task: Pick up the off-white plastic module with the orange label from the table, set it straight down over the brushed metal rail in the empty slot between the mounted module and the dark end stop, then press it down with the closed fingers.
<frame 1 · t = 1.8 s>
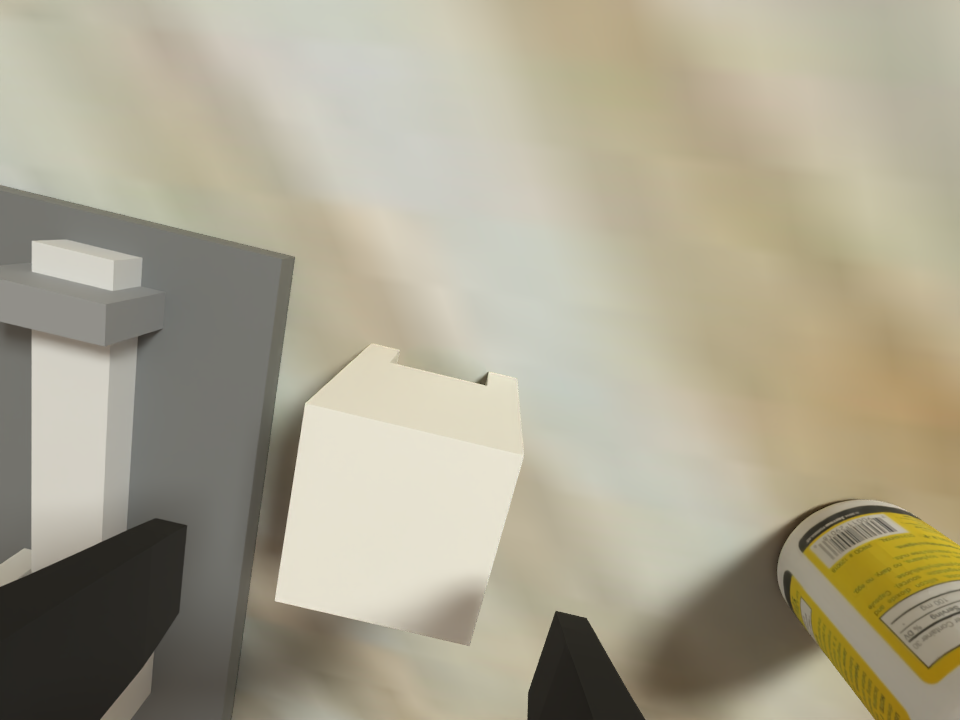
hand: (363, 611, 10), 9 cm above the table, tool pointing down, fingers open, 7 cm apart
supplement bottle: (845, 556, 19), on the table
rail: (114, 508, 19), on the table
module: (428, 433, 18), on the table
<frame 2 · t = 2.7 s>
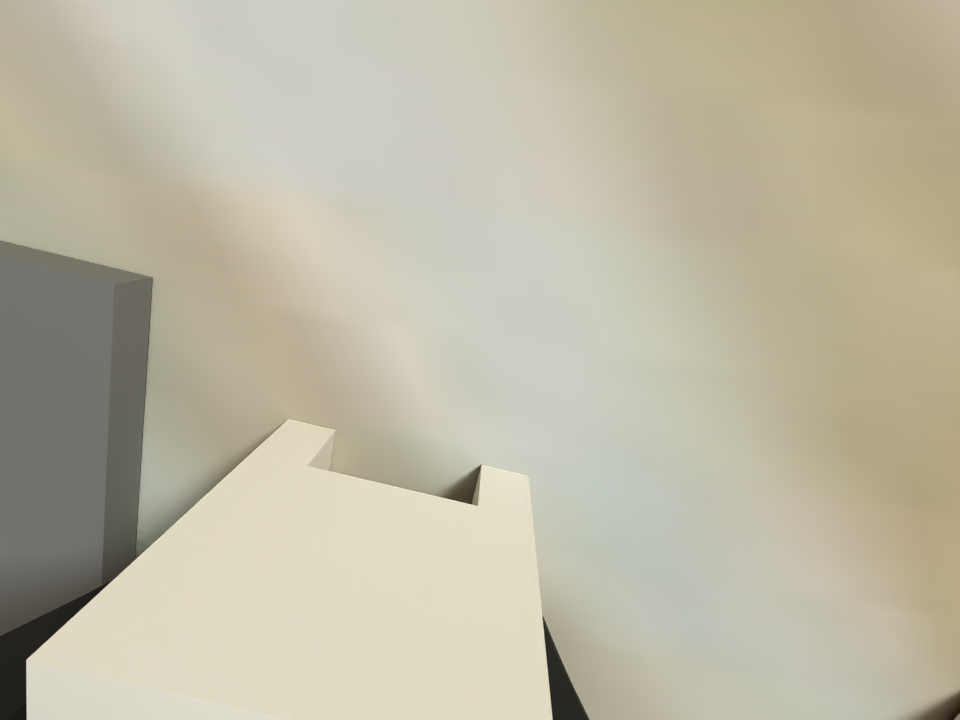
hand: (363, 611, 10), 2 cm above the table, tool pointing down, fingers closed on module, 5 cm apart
module: (384, 558, 11), on the table, touching gripper
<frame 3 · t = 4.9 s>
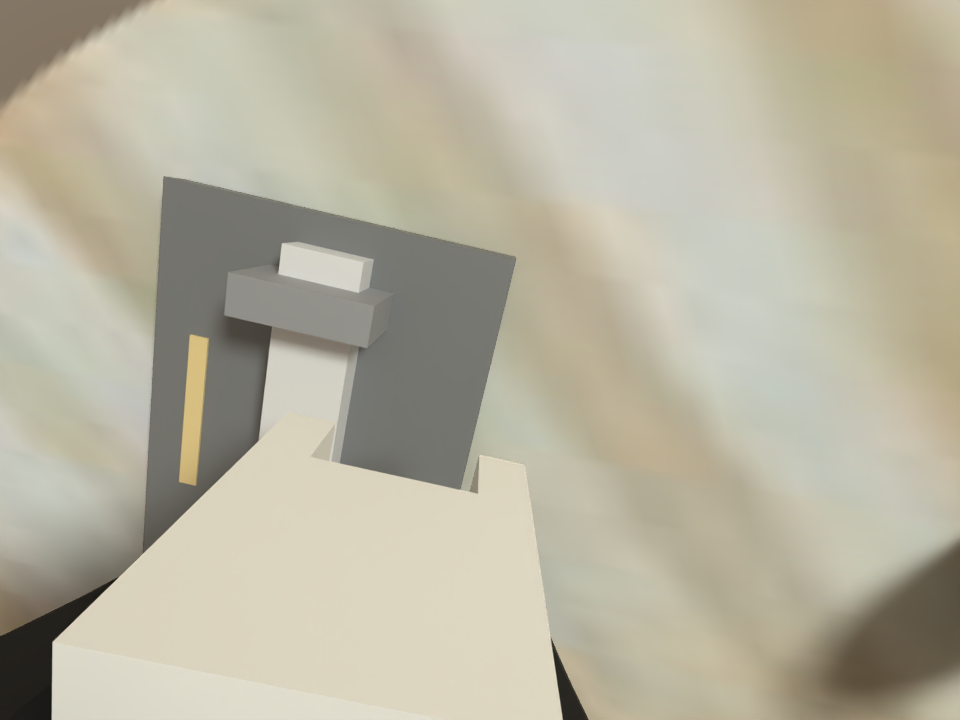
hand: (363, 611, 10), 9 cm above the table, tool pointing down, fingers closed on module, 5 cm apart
rail: (305, 510, 19), on the table
module: (384, 547, 12), point 7 cm above the table, touching gripper
when the fingers open (4 cm above the table, at t = 6.7 s): module drops 1 cm, resting on rail.
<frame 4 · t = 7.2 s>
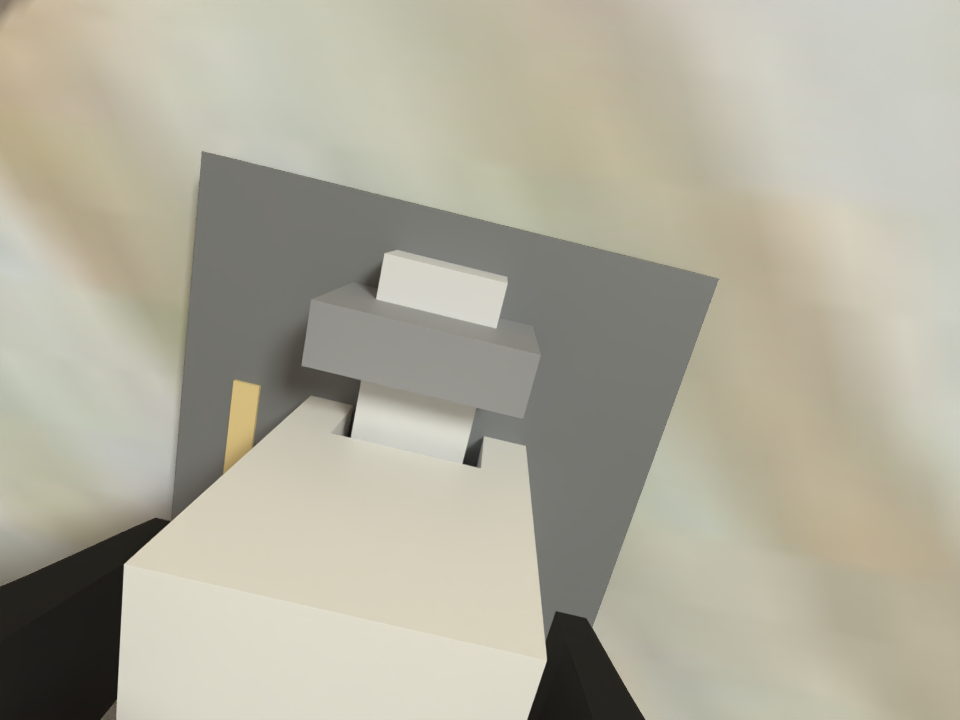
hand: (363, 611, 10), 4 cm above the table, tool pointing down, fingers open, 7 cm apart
rail: (379, 608, 14), on the table
module: (396, 522, 13), point 1 cm above the table, touching rail
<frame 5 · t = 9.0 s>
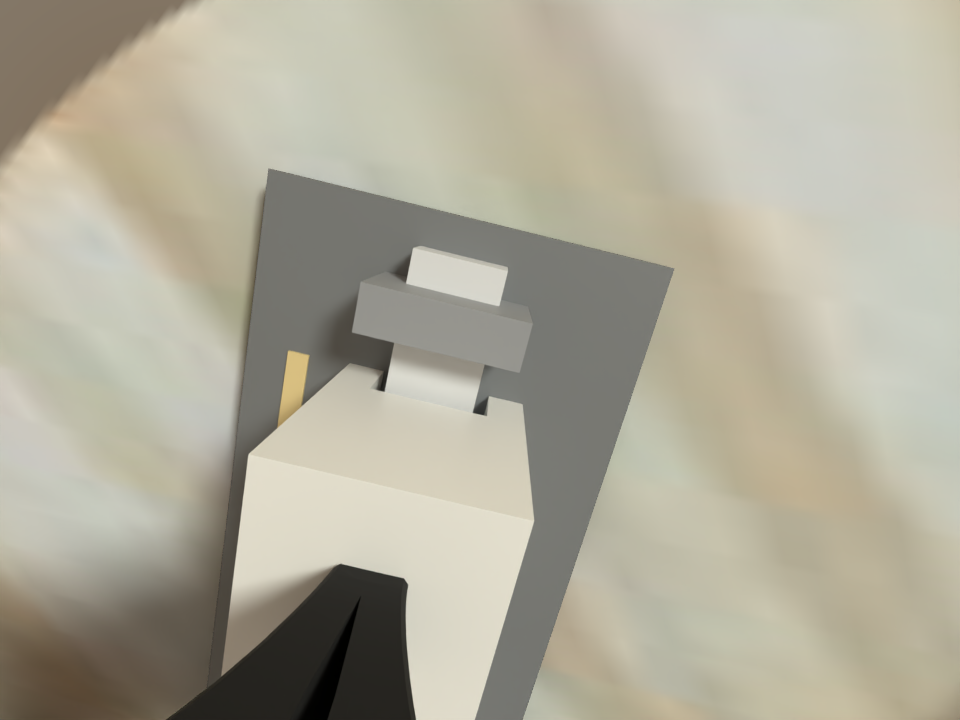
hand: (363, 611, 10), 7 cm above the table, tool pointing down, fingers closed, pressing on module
rail: (400, 546, 17), on the table
module: (417, 468, 15), point 1 cm above the table, touching gripper, rail
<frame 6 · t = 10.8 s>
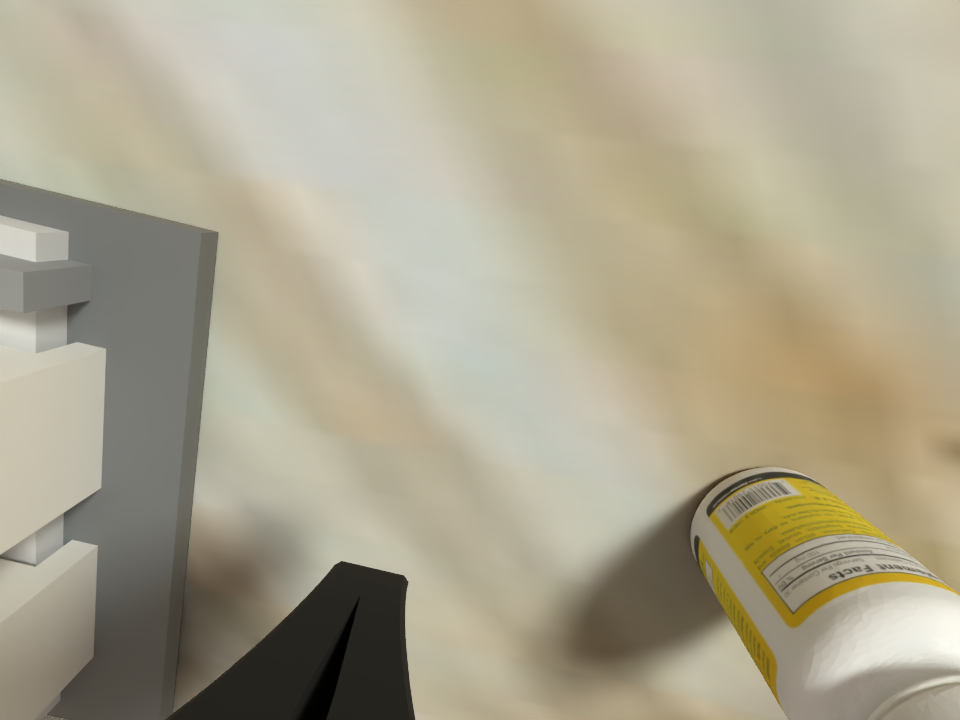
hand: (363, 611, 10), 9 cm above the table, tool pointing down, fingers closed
supplement bottle: (757, 523, 20), on the table
rail: (55, 478, 20), on the table
module: (33, 404, 18), point 1 cm above the table, touching rail
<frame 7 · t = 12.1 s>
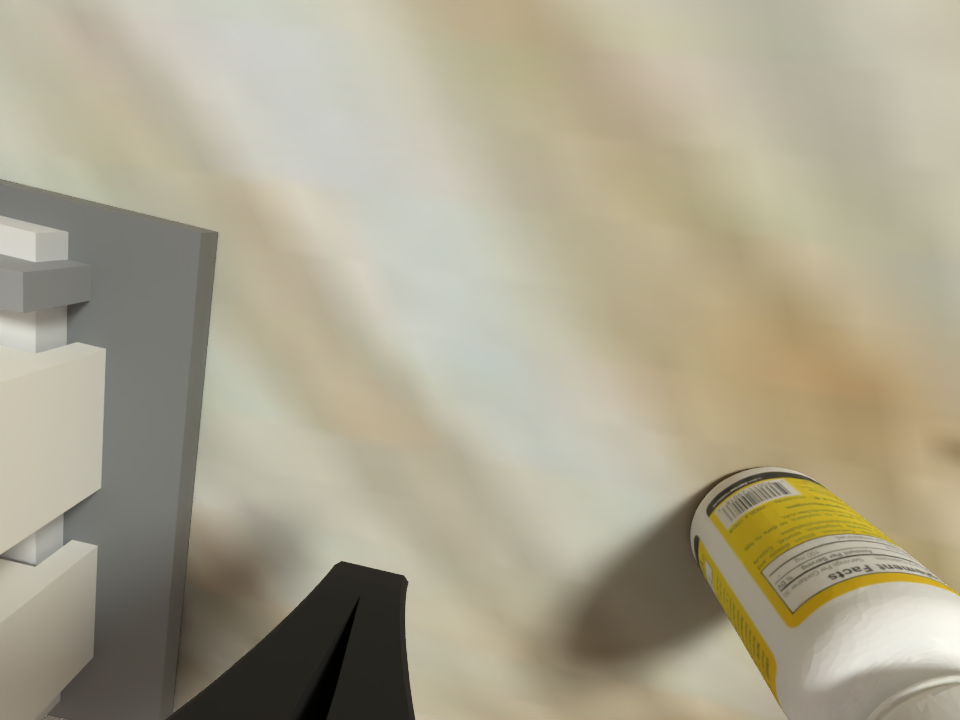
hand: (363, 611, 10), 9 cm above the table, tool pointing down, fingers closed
supplement bottle: (757, 523, 20), on the table
rail: (54, 478, 20), on the table
module: (33, 404, 18), point 1 cm above the table, touching rail
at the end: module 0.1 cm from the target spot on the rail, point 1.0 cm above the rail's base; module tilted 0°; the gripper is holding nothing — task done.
